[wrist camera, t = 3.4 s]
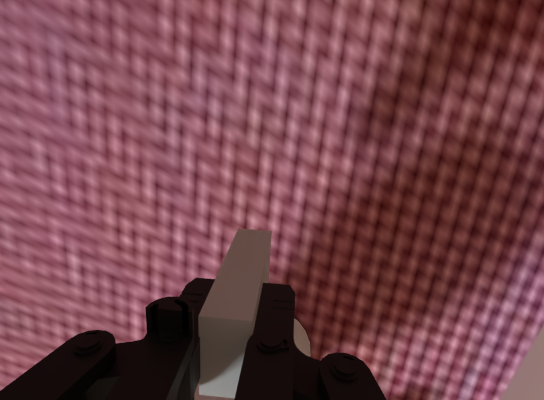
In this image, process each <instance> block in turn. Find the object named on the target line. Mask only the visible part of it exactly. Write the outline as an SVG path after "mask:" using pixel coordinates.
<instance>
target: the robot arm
mask: <svg viewBox="0 0 544 400" xmlns="http://www.w3.org/2000/svg"><path fill="white" fill-rule="evenodd" d="M270 247H271V231H261V230H249V229H238V231H237V233H236V235H235V237H234V239H233V242H232V244H231V246H230V248H229V250H228V253H227V255H226V257H225V259H224V261H223V263H222V266H221V268H220V270H219V272H218V274H217V277H216V279H204V278H195V279H194V280H192V281H191V282H189V283H188V284H187V285H186V286H185V288H184V290H183V291H182V294H181V295H180V296H179V297H165V298H161V299H158V300H156V301H154V302H151V303H150V304H149V305H148V306H147V307H146V322H147V334H146V335H145V337H144V339H142V340H138V341H133V342H125V343H117V344H116V343H115V338H114V336H113V334H111V333H109V332H107V331H102V330H93V331H87V332H84V333H81V334H78V335H76V336H74V337H73V338H71V339H69V340H68V341H66V342H65V343H64V344H62V345H61V346H60V347H58V348H57V349H56V350H54V351H53V352H52V353H50V354H49V355H48V356H46V357H45V358H44V359H42V360H41V361H40V362H38V363H37V364H36V365H34V366H33V367H32V368H30V369H29V370H28V371H26V372H25V373H24V374H22V375H21V376H20V377H18V378H17V379H16V380H14V381H13V382H12V383H10V384H9V385H8V386H6V387H5V388H4V389H2V390H1V391H0V400H195V397H194V394H195V391H196V388H197V386H198V383H199V395H207V396H216V397H226V398H235V399H234V400H386V398H385V396H384V394H383V393H382V391H381V389H380V387H379V385H378V384H377V382H376V380H375V378H374V376H373V375H372V373H371V371H370V369H369V368H368V367H367V365H366V364H365V363H364V362H363V361H362V360H360V359H359V358H357V357H355V356H353V355H350V354H347V353H332V354H328V355H327V356H325V357H324V358H323V359H322V360H321V361H319V360H316V359H313V358H311V357H309V356H307V355H305V354H304V353H302V352H301V351H300V350H299V349H298V348H297V346H296V344H295V343H294V309H295V292H294V291H293V289H292V288H291V286H290V285H283V284H271V283H268V282H269V265H270Z"/></svg>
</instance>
